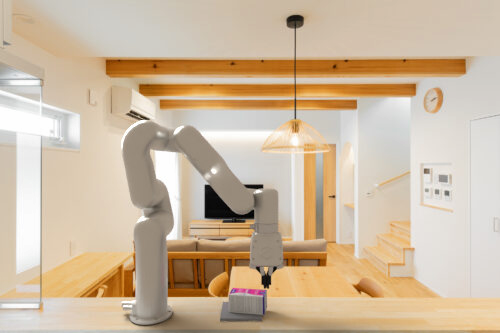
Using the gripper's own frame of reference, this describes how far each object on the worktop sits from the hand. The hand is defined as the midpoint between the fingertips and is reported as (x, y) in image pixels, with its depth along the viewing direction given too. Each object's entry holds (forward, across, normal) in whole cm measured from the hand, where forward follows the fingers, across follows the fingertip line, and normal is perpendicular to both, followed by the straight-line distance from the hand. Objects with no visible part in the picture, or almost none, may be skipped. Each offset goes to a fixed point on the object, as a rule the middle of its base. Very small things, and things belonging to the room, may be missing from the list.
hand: (266, 287), depth 97 cm
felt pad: (+9, -8, +2) cm, 12 cm away
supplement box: (+5, 0, 0) cm, 5 cm away
